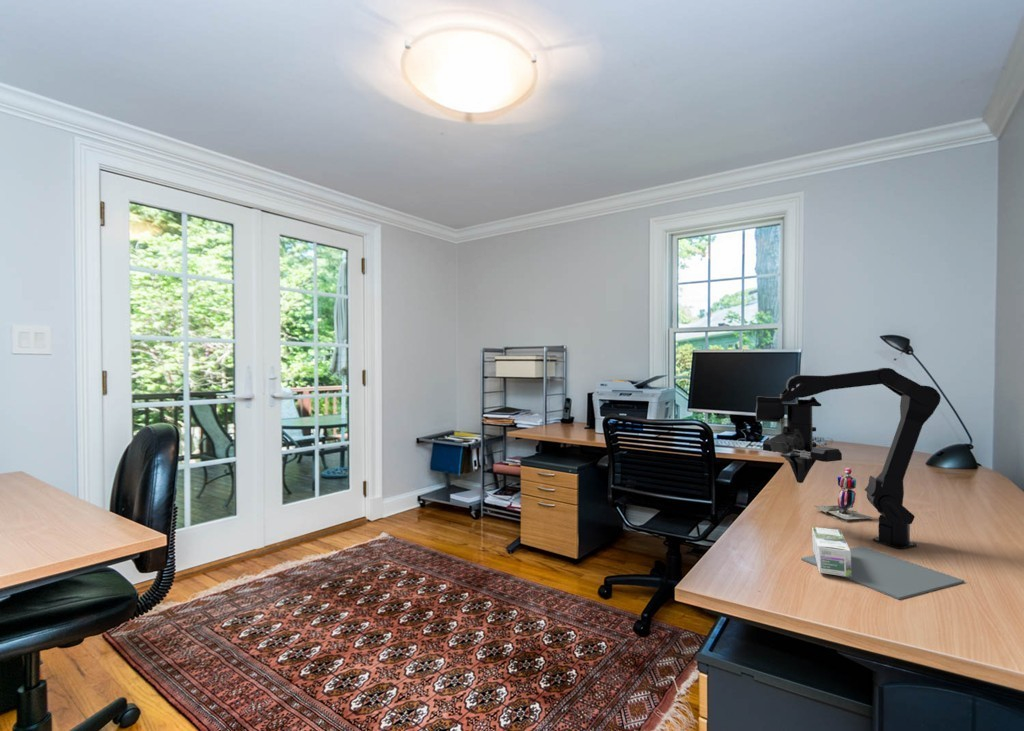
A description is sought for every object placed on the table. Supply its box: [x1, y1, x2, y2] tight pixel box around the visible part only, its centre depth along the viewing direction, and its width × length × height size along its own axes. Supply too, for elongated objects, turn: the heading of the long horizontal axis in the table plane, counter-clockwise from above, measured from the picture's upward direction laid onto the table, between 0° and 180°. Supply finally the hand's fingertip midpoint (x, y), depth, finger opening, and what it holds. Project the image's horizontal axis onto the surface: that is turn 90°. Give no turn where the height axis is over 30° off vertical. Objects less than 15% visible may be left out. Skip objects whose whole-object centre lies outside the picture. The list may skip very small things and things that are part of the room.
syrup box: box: [811, 526, 852, 577], centre depth 105 cm, size 6×6×14 cm
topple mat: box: [800, 545, 965, 600], centre depth 103 cm, size 20×20×1 cm
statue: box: [814, 467, 873, 523], centre depth 140 cm, size 11×9×15 cm
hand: (800, 482), depth 127 cm, fingers closed
